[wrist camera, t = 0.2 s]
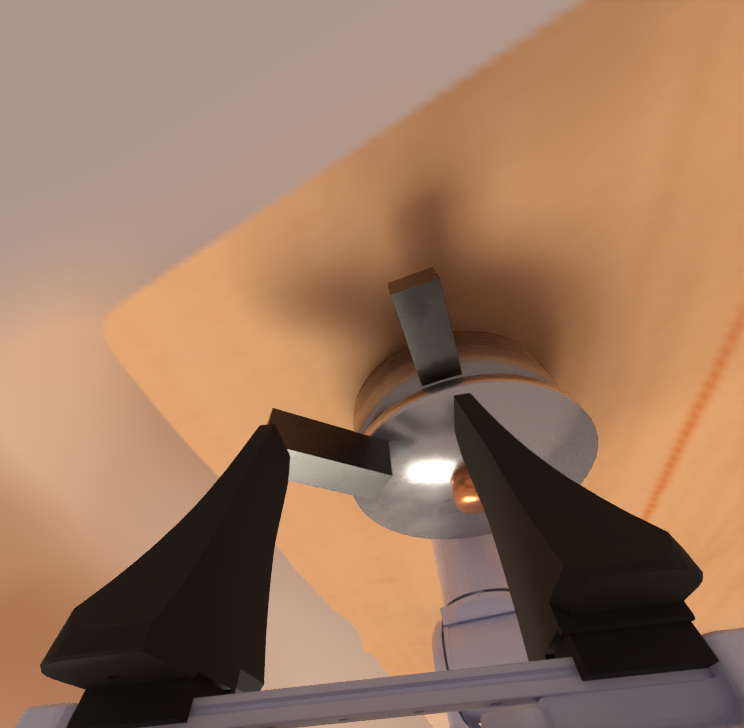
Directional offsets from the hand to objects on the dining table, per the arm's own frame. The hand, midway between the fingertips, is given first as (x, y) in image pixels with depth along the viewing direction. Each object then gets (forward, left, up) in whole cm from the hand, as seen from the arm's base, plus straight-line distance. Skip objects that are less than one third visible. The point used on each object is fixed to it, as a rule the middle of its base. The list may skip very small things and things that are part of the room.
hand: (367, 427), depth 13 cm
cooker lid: (-9, -2, -5) cm, 11 cm away
